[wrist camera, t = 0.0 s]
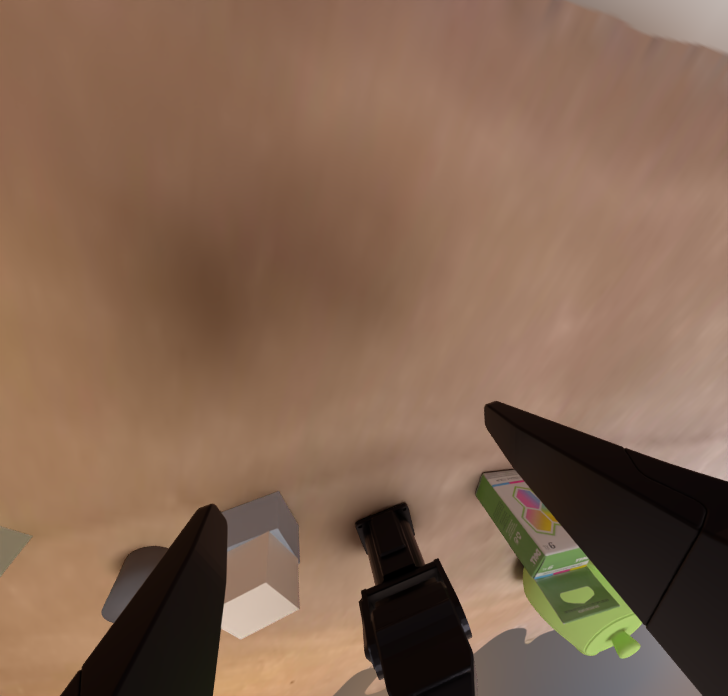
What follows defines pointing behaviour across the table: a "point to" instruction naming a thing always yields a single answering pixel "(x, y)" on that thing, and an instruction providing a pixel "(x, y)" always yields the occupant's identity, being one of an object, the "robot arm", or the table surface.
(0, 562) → the sage block
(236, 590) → the tower top
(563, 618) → the ink box
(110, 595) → the dark grey cylinder
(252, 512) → the tower base
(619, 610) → the teapot
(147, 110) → the table surface
